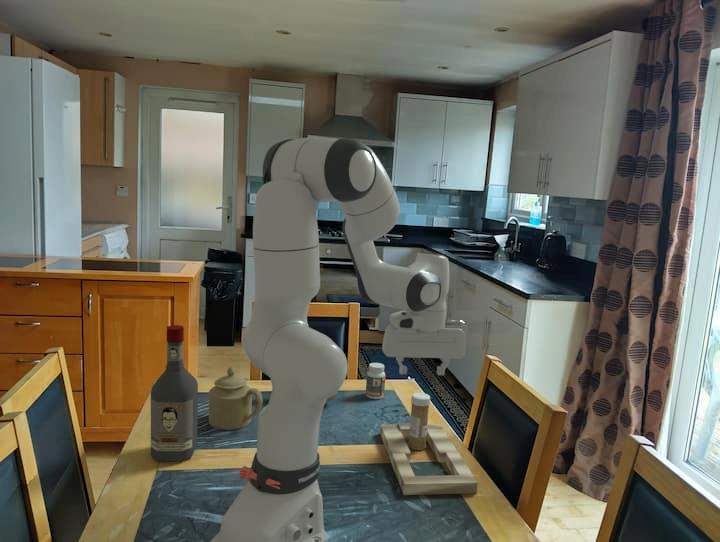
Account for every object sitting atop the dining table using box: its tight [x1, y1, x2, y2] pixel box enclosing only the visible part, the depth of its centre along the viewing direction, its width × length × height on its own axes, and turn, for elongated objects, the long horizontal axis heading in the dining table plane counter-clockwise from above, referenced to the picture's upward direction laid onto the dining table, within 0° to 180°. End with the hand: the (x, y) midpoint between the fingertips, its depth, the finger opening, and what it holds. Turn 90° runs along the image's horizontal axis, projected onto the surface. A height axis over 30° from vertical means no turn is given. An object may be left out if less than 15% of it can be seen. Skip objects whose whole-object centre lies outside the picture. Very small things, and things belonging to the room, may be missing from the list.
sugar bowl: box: [208, 366, 264, 431], centre depth 141 cm, size 15×11×15 cm
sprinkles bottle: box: [407, 392, 431, 451], centre depth 134 cm, size 5×5×13 cm
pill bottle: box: [365, 362, 386, 400], centre depth 165 cm, size 6×6×10 cm
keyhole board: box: [379, 422, 478, 496], centre depth 128 cm, size 28×16×3 cm, turn 8°
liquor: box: [150, 324, 199, 464], centre depth 122 cm, size 9×9×30 cm
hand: (421, 374), depth 132 cm, fingers open, 8 cm apart
